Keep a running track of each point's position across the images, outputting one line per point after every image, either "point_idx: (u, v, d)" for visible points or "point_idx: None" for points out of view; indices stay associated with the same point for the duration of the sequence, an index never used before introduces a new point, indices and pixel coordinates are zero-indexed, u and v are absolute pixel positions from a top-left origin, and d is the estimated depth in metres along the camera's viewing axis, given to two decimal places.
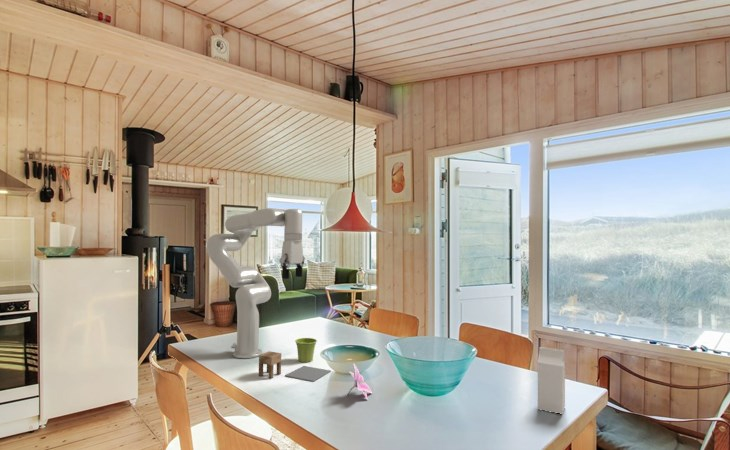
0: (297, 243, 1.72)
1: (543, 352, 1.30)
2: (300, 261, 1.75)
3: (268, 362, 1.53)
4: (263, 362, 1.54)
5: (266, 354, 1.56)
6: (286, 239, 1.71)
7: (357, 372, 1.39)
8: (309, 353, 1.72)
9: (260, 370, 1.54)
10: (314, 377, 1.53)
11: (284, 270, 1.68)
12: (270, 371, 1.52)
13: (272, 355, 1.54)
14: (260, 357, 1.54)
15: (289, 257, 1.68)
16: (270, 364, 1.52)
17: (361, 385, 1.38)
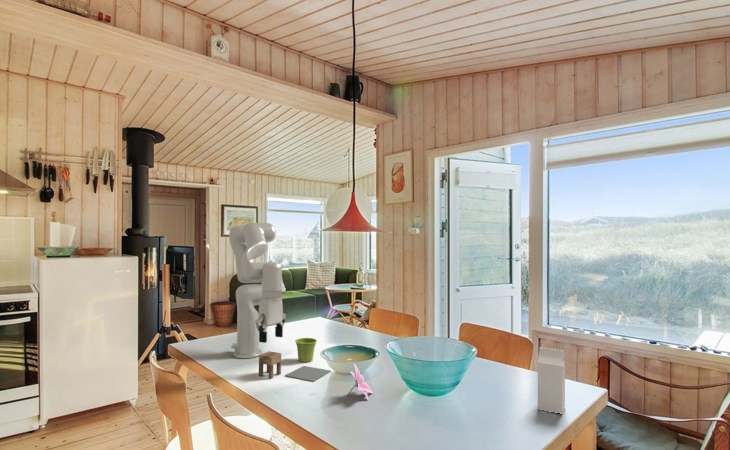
0: (275, 302, 1.55)
1: (543, 352, 1.30)
2: (280, 320, 1.58)
3: (268, 362, 1.53)
4: (263, 362, 1.54)
5: (266, 354, 1.56)
6: (263, 297, 1.54)
7: (357, 372, 1.39)
8: (309, 353, 1.72)
9: (260, 370, 1.54)
10: (314, 377, 1.53)
11: (261, 333, 1.51)
12: (270, 371, 1.52)
13: (272, 355, 1.54)
14: (260, 357, 1.54)
15: (266, 318, 1.51)
16: (270, 364, 1.52)
17: (361, 385, 1.38)
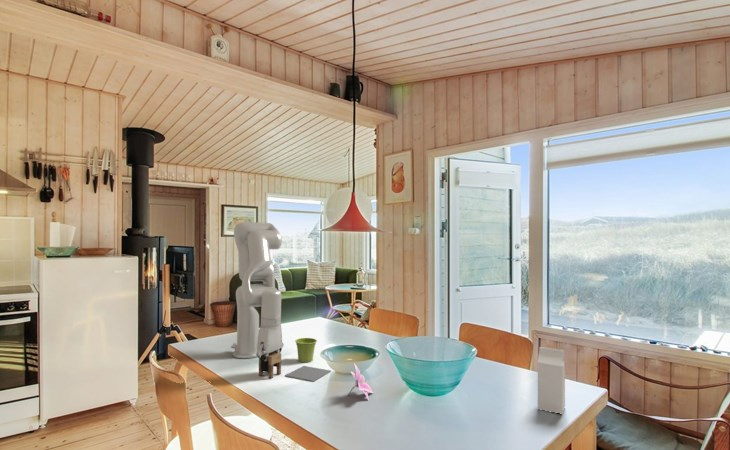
0: (274, 329, 1.55)
1: (543, 352, 1.30)
2: (279, 347, 1.58)
3: (268, 362, 1.53)
4: None
5: None
6: (263, 325, 1.54)
7: (358, 372, 1.39)
8: (309, 353, 1.72)
9: (260, 370, 1.54)
10: (314, 377, 1.53)
11: (262, 362, 1.52)
12: (270, 371, 1.52)
13: (272, 355, 1.54)
14: None
15: (265, 346, 1.51)
16: (270, 364, 1.52)
17: (362, 385, 1.38)
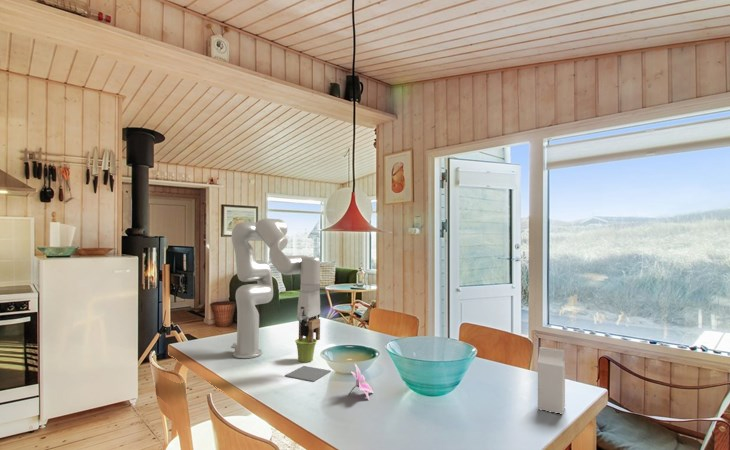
0: (314, 295, 1.57)
1: (543, 352, 1.30)
2: (317, 313, 1.60)
3: None
4: None
5: None
6: (303, 290, 1.56)
7: (358, 372, 1.39)
8: (309, 353, 1.72)
9: (300, 335, 1.57)
10: (314, 377, 1.53)
11: (303, 327, 1.55)
12: (311, 335, 1.55)
13: (312, 320, 1.57)
14: None
15: (306, 311, 1.54)
16: (310, 328, 1.55)
17: (362, 385, 1.38)
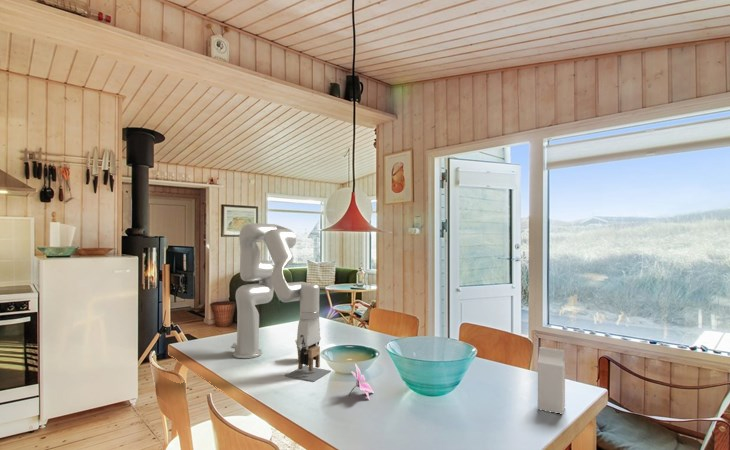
0: (313, 322, 1.57)
1: (543, 352, 1.30)
2: (317, 340, 1.60)
3: (308, 355, 1.55)
4: None
5: (305, 347, 1.58)
6: (302, 318, 1.56)
7: (359, 372, 1.39)
8: None
9: (300, 363, 1.56)
10: (314, 377, 1.53)
11: (302, 355, 1.54)
12: (310, 363, 1.54)
13: (311, 348, 1.56)
14: None
15: (305, 339, 1.53)
16: (310, 357, 1.54)
17: (363, 385, 1.38)
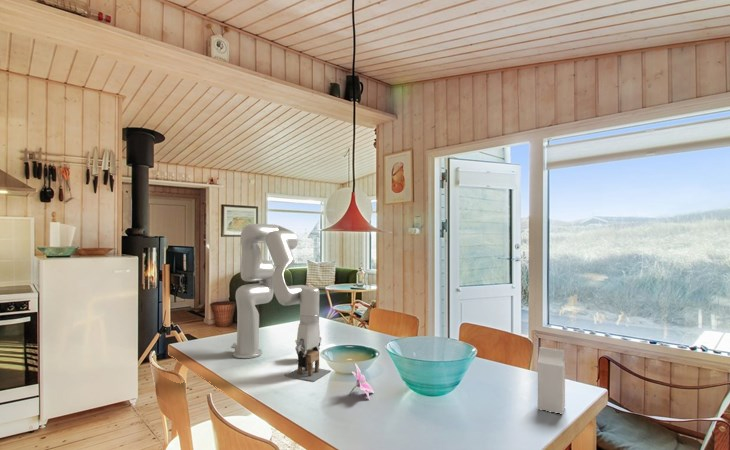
0: (313, 326, 1.57)
1: (543, 352, 1.30)
2: (317, 344, 1.60)
3: (307, 360, 1.55)
4: None
5: None
6: (302, 322, 1.56)
7: (359, 372, 1.39)
8: None
9: (299, 368, 1.56)
10: (314, 377, 1.53)
11: (300, 358, 1.53)
12: (310, 368, 1.54)
13: (311, 353, 1.56)
14: None
15: (305, 343, 1.53)
16: (310, 362, 1.54)
17: (363, 385, 1.38)
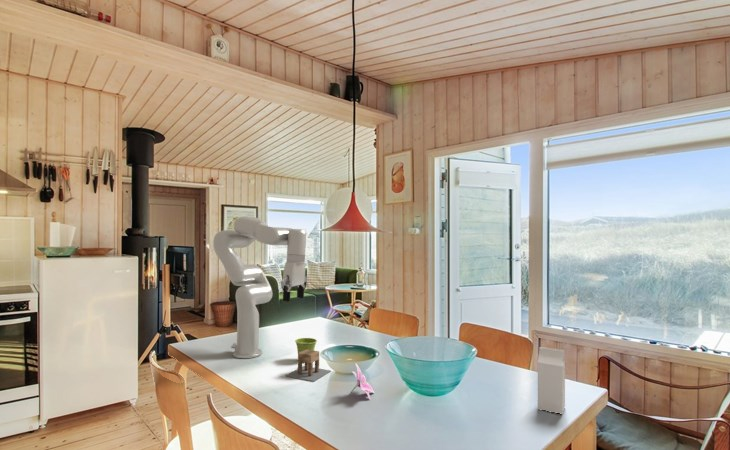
0: (299, 265, 1.67)
1: (543, 352, 1.30)
2: (302, 282, 1.70)
3: (307, 360, 1.55)
4: (302, 360, 1.56)
5: (305, 352, 1.58)
6: (288, 260, 1.66)
7: (359, 372, 1.39)
8: None
9: (299, 368, 1.56)
10: (314, 377, 1.53)
11: (285, 292, 1.63)
12: (310, 368, 1.54)
13: (311, 353, 1.56)
14: (299, 355, 1.56)
15: (290, 279, 1.63)
16: (310, 362, 1.54)
17: (363, 385, 1.38)
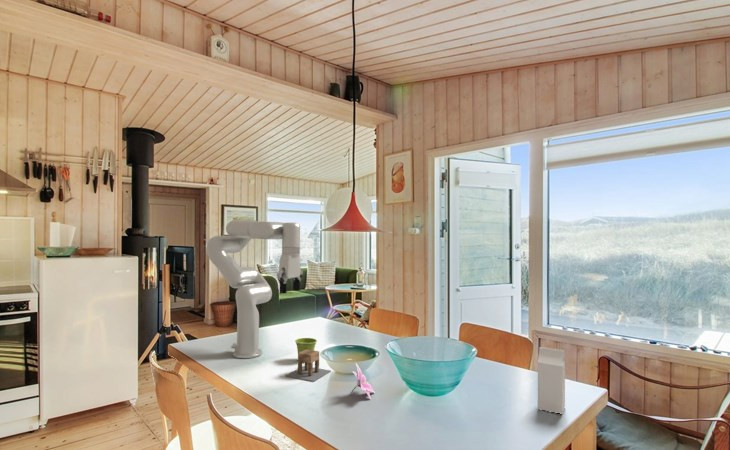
0: (294, 257, 1.70)
1: (543, 352, 1.30)
2: (298, 275, 1.73)
3: (307, 360, 1.55)
4: (302, 360, 1.56)
5: (305, 352, 1.58)
6: (284, 253, 1.69)
7: (359, 372, 1.39)
8: None
9: (299, 368, 1.56)
10: (314, 377, 1.53)
11: (281, 284, 1.66)
12: (310, 368, 1.54)
13: (311, 353, 1.56)
14: (299, 355, 1.56)
15: (286, 271, 1.67)
16: (310, 362, 1.54)
17: (364, 385, 1.38)
